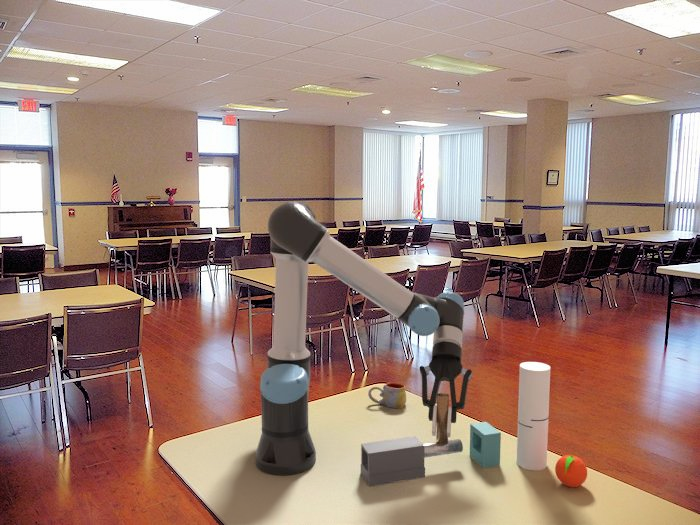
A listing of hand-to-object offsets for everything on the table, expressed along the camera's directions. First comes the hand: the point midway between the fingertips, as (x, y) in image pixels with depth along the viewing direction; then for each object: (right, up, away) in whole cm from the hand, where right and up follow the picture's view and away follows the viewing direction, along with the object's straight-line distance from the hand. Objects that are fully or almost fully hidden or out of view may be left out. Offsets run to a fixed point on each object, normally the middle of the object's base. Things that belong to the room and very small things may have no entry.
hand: (441, 434), depth 137 cm
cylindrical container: (+23, -9, +7) cm, 26 cm away
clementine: (+29, -11, -4) cm, 31 cm away
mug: (-10, -5, +46) cm, 48 cm away
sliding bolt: (-3, -6, +3) cm, 8 cm away
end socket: (+12, -9, +8) cm, 17 cm away
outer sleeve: (-11, -10, +1) cm, 15 cm away
